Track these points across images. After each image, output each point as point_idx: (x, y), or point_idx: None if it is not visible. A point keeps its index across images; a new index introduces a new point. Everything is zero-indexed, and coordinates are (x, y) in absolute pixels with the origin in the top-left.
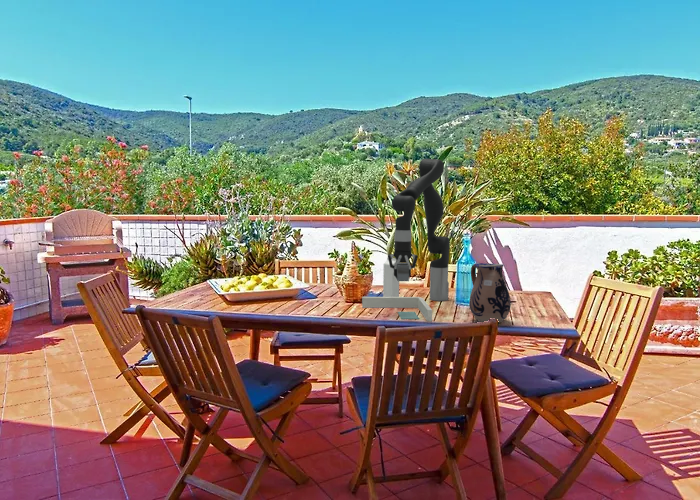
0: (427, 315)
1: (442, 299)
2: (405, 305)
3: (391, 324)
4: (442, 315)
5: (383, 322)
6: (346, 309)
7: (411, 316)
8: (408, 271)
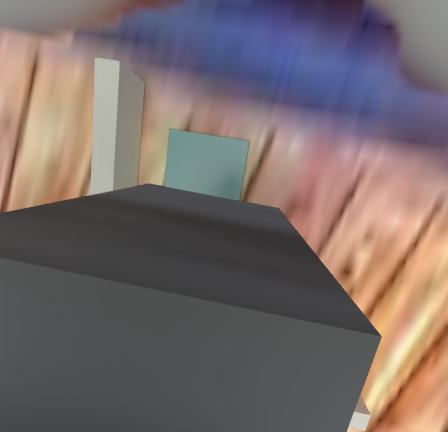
0: (133, 73)
1: None
2: None
3: (325, 38)
4: (58, 185)
5: (350, 86)
6: (427, 357)
7: (193, 172)
8: (78, 202)
